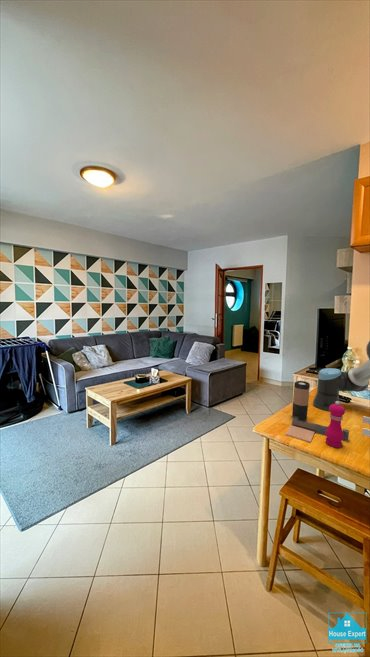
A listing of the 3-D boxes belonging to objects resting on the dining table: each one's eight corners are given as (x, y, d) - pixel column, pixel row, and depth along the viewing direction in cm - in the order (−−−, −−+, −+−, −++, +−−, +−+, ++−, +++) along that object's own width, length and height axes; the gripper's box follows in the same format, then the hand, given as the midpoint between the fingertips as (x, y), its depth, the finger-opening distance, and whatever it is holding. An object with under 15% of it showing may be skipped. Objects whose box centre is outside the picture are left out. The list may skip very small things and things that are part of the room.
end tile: (314, 433, 124) (314, 431, 124) (310, 442, 116) (310, 441, 115) (290, 426, 131) (290, 425, 131) (285, 434, 122) (285, 433, 122)
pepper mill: (326, 438, 120) (330, 396, 118) (344, 443, 116) (348, 401, 114) (322, 444, 115) (326, 401, 113) (341, 450, 110) (346, 405, 108)
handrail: (348, 439, 119) (349, 430, 119) (347, 441, 117) (348, 432, 117) (292, 424, 133) (293, 415, 133) (291, 425, 131) (292, 417, 131)
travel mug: (308, 422, 136) (311, 385, 134) (293, 420, 137) (296, 384, 135) (304, 416, 143) (307, 381, 141) (290, 414, 145) (293, 380, 143)
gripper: (437, 467, 86) (361, 446, 98) (423, 437, 107) (362, 422, 119) (440, 446, 86) (363, 427, 98) (426, 420, 106) (363, 407, 118)
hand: (362, 424), depth 108 cm, fingers open, 13 cm apart
